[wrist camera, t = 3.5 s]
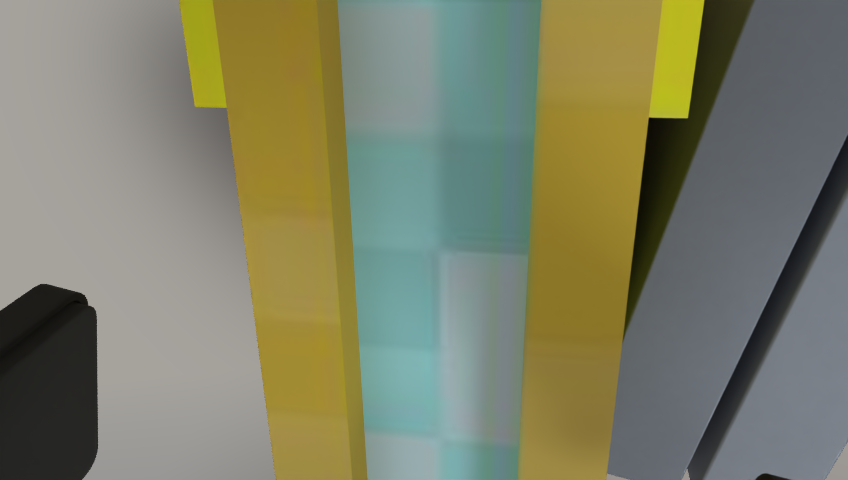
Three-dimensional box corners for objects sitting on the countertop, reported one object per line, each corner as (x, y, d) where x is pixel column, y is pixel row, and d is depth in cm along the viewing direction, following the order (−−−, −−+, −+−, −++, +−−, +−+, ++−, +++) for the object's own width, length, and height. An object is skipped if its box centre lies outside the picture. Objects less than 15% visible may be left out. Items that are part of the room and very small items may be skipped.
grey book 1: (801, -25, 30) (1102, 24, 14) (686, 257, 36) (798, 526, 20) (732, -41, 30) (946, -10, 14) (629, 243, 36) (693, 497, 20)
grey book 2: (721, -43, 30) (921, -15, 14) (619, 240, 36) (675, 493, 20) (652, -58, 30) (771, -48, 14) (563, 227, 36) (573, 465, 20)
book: (441, -105, 31) (147, -211, 8) (595, -110, 30) (739, -243, 7) (442, 240, 38) (284, 698, 15) (568, 247, 37) (598, 749, 14)
